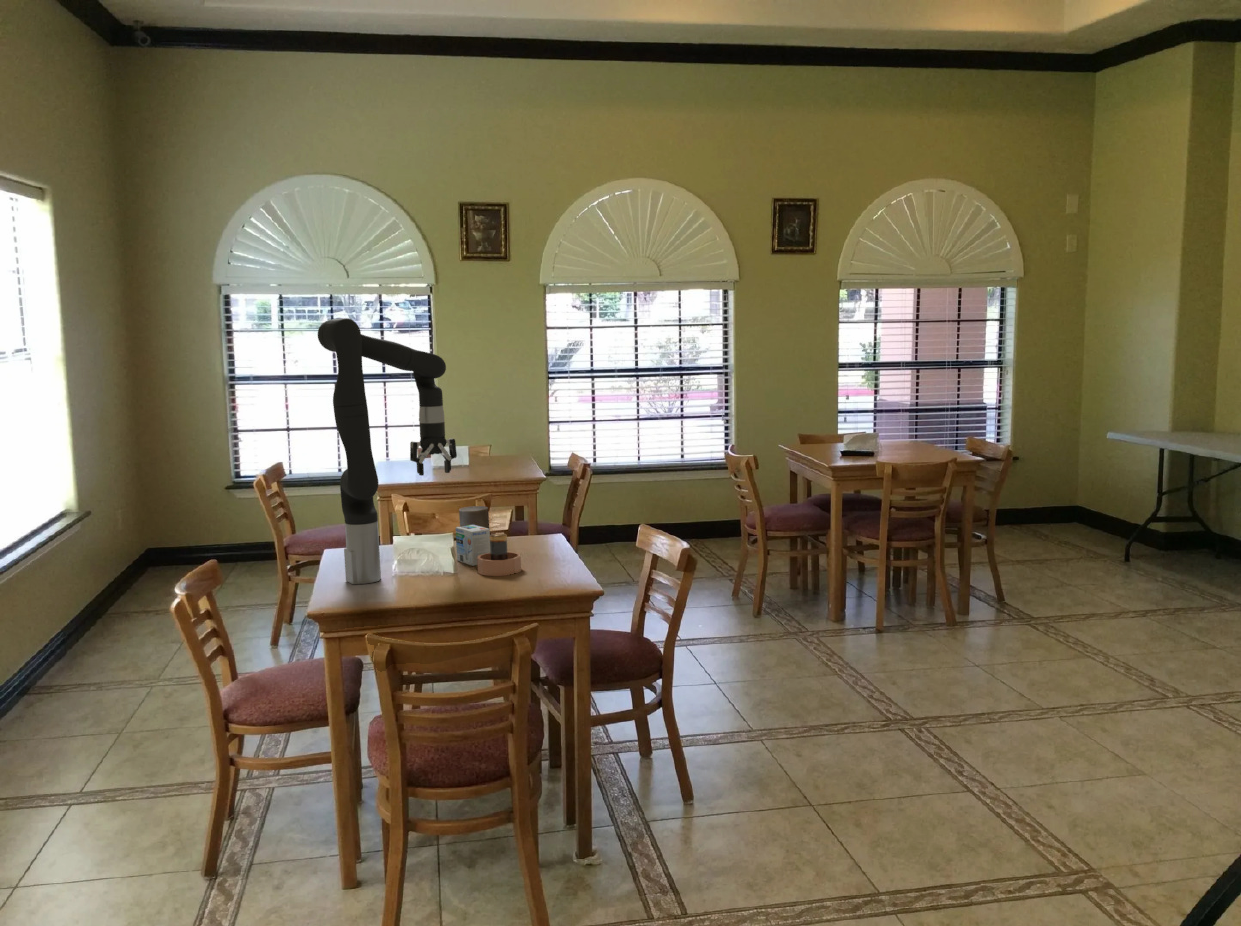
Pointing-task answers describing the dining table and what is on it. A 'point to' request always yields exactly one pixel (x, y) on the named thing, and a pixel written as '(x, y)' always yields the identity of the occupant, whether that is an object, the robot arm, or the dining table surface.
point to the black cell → (498, 547)
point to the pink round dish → (499, 565)
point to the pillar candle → (474, 516)
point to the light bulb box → (472, 543)
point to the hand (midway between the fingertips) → (434, 474)
